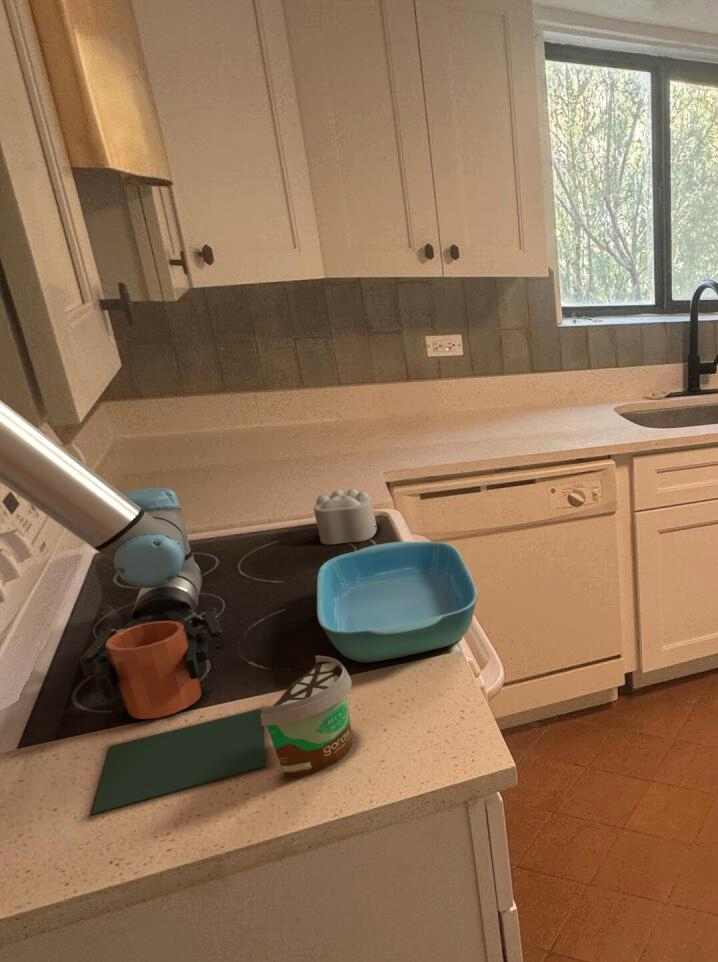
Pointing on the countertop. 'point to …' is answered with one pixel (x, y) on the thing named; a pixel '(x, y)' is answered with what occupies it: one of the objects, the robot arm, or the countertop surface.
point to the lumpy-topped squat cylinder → (345, 517)
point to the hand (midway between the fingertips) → (149, 678)
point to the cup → (153, 669)
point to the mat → (181, 760)
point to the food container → (312, 719)
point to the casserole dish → (395, 600)
